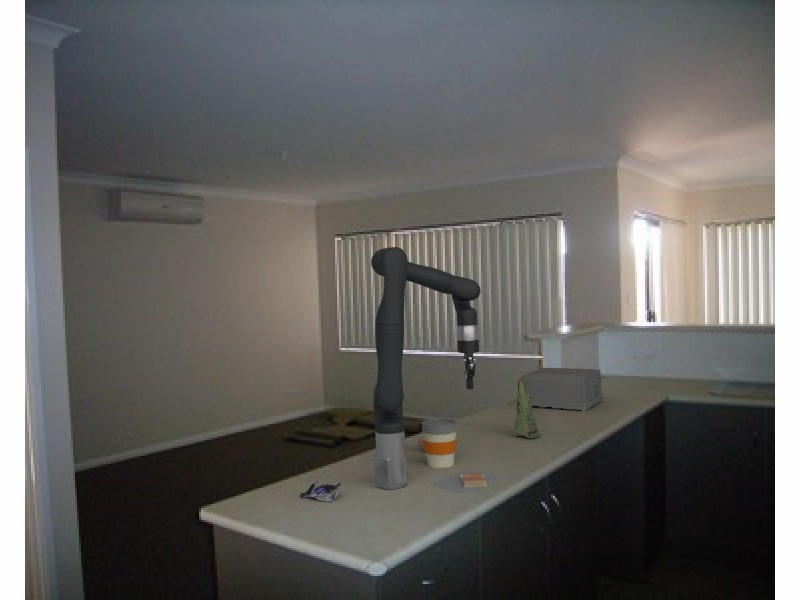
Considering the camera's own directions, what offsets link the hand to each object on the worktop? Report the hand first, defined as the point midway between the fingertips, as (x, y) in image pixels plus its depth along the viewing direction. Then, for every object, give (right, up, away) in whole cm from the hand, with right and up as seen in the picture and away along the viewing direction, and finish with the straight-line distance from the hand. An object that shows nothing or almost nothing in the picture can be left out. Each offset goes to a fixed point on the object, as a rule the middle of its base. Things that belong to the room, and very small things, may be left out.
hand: (469, 388), depth 207 cm
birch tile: (-1, -26, -14) cm, 29 cm away
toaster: (+63, -24, +105) cm, 125 cm away
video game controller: (-12, -28, +27) cm, 40 cm away
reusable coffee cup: (-10, -28, +5) cm, 30 cm away
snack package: (-48, -30, -24) cm, 61 cm away
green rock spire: (+28, -26, +41) cm, 56 cm away
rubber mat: (-3, -27, -15) cm, 31 cm away
